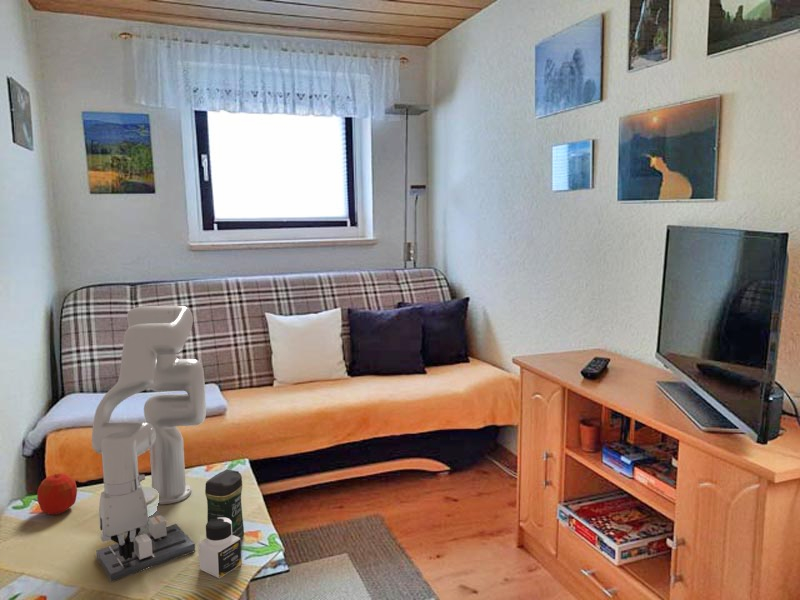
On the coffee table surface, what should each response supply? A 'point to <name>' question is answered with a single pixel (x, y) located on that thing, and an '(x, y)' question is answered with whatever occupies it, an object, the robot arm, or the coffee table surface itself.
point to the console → (162, 552)
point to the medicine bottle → (219, 548)
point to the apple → (56, 494)
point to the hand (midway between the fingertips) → (127, 556)
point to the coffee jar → (226, 499)
